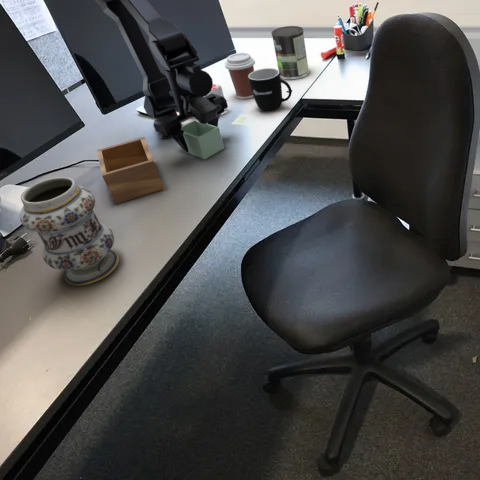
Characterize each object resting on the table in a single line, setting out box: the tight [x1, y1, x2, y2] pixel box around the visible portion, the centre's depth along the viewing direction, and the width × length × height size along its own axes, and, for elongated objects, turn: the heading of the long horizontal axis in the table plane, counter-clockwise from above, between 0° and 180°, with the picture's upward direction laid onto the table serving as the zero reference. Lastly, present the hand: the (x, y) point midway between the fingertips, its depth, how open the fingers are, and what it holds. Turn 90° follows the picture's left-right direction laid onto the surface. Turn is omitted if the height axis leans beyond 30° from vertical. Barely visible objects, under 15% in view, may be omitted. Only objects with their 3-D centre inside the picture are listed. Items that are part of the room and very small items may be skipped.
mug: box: [248, 67, 292, 113], centre depth 141 cm, size 12×9×10 cm
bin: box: [180, 119, 225, 160], centre depth 125 cm, size 10×7×6 cm
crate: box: [96, 136, 165, 205], centre depth 114 cm, size 14×11×8 cm
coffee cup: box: [224, 52, 256, 100], centre depth 150 cm, size 9×9×12 cm
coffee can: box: [270, 25, 310, 80], centre depth 160 cm, size 10×10×14 cm
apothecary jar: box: [19, 176, 120, 286], centre depth 87 cm, size 12×12×18 cm
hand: (201, 144), depth 126 cm, fingers open, 9 cm apart
